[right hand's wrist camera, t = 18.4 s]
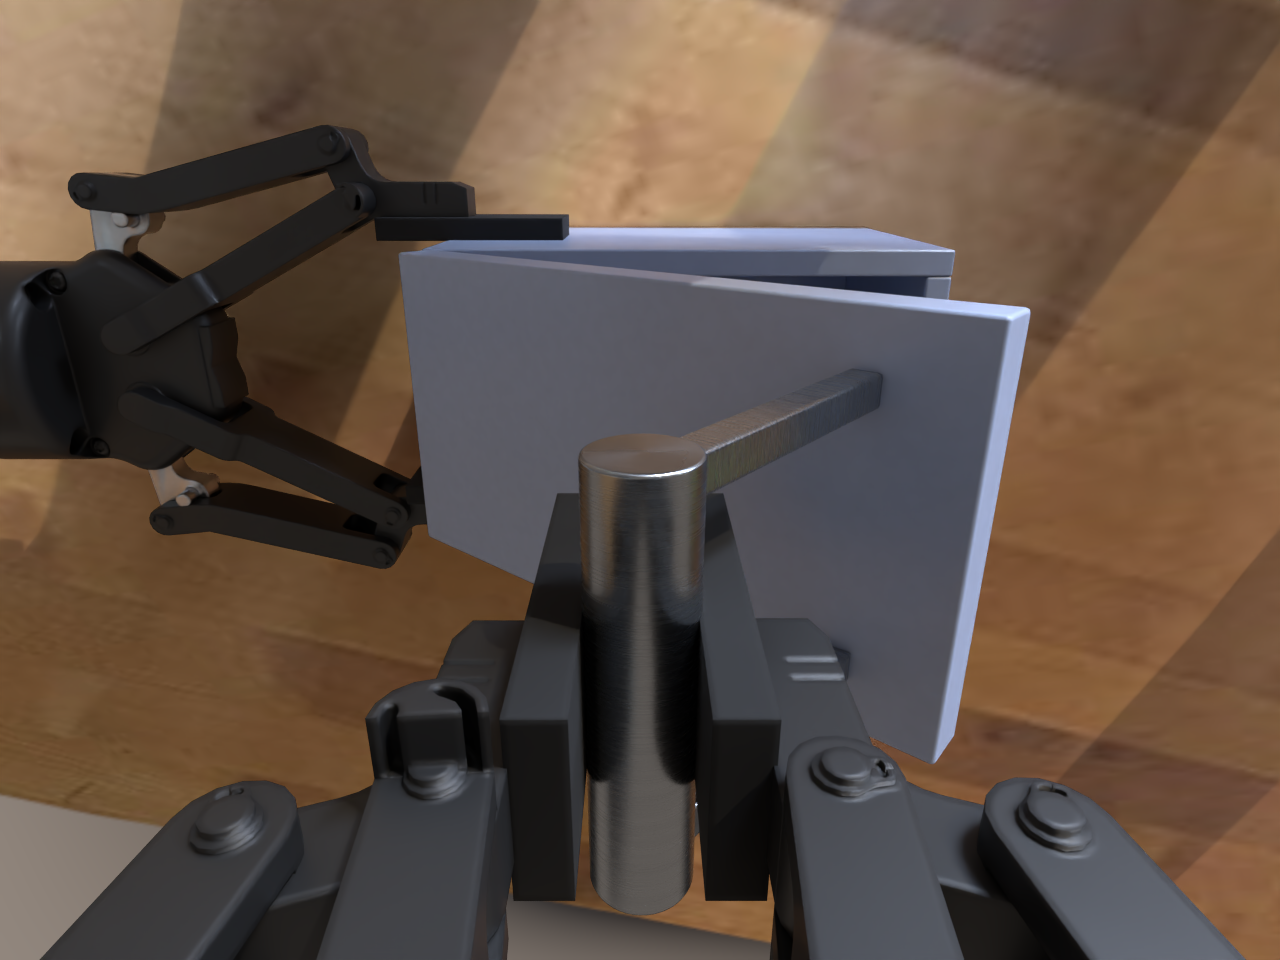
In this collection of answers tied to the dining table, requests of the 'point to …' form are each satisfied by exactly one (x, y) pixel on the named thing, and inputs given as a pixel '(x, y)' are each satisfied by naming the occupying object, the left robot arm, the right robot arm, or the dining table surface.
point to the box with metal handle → (715, 463)
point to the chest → (747, 255)
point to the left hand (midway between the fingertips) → (569, 362)
